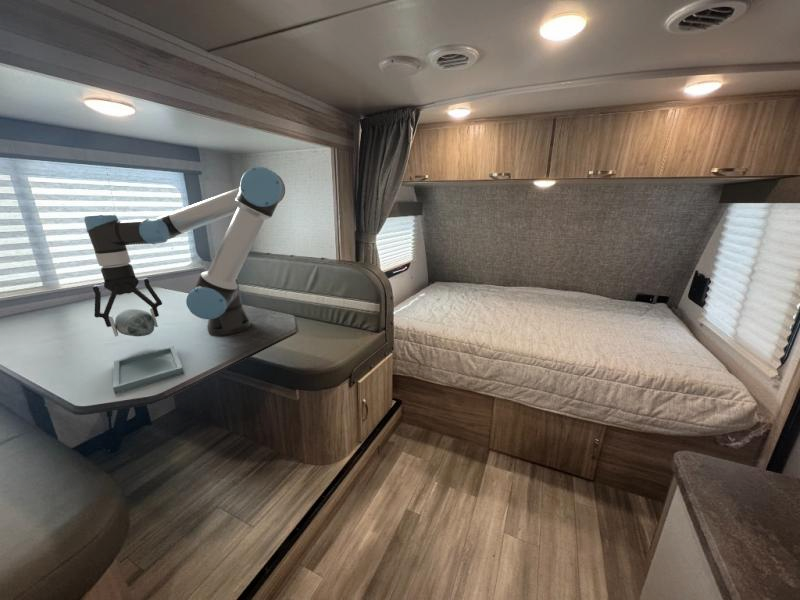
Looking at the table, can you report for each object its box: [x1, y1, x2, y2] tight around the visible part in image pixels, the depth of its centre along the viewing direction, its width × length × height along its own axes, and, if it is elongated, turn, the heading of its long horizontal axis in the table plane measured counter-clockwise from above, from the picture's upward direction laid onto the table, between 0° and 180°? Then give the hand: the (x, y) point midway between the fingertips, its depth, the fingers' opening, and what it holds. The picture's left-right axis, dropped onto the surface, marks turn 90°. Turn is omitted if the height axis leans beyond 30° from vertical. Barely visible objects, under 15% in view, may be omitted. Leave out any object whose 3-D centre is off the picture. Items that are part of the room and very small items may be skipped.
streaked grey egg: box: [114, 308, 155, 337], centre depth 104 cm, size 14×10×10 cm
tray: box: [112, 345, 185, 395], centre depth 94 cm, size 15×19×2 cm
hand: (137, 330), depth 105 cm, fingers closed on streaked grey egg, 10 cm apart
